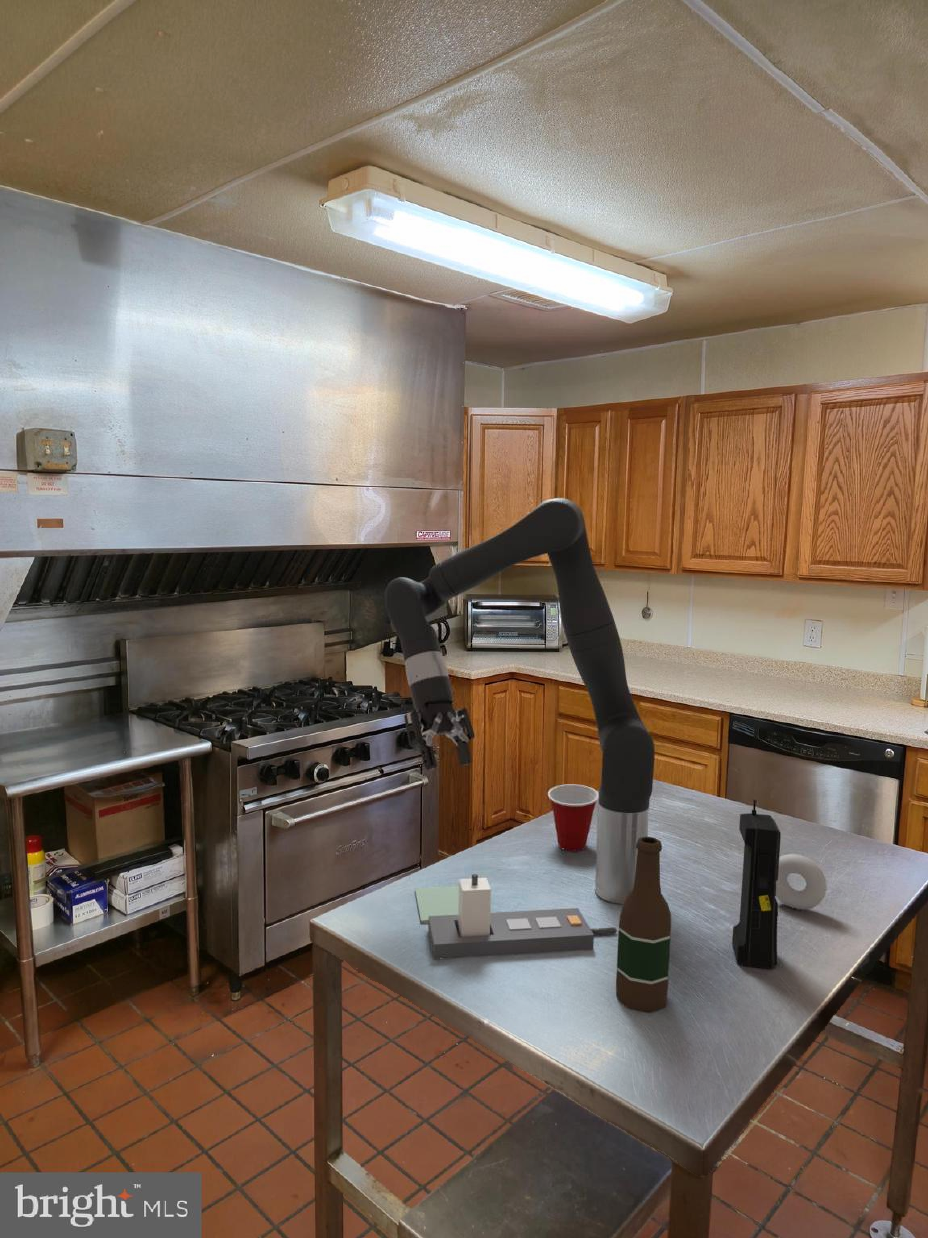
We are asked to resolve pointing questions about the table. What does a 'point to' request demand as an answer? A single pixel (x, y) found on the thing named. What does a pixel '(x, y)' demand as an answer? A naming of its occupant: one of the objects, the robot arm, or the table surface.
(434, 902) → the mat
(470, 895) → the block
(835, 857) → the table surface
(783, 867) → the donut
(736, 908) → the table surface
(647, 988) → the beer bottle
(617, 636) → the robot arm
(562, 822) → the plastic cup
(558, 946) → the power strip
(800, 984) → the table surface
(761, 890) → the portable radio
